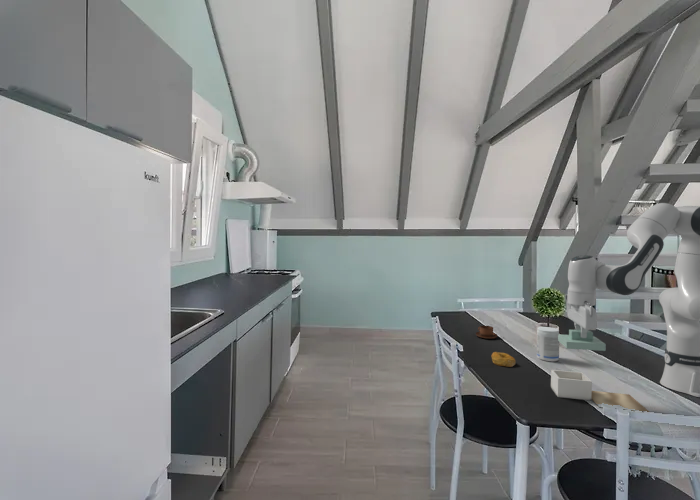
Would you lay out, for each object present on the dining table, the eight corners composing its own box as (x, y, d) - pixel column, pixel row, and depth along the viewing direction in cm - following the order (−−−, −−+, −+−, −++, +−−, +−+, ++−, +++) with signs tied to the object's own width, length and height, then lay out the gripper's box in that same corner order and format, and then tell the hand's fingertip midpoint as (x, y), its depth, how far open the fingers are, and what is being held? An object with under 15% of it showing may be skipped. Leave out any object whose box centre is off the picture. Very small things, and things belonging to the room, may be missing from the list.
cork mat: (629, 395, 136) (629, 394, 136) (649, 413, 122) (649, 411, 122) (584, 390, 140) (584, 389, 140) (599, 407, 126) (599, 406, 126)
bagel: (505, 369, 163) (505, 358, 163) (486, 361, 173) (486, 351, 173) (520, 366, 167) (521, 355, 167) (501, 358, 177) (501, 348, 177)
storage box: (582, 390, 140) (582, 372, 140) (591, 400, 132) (591, 381, 131) (550, 387, 143) (551, 369, 143) (557, 396, 134) (558, 378, 134)
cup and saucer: (472, 337, 213) (472, 327, 213) (480, 333, 222) (480, 323, 222) (492, 341, 205) (492, 330, 205) (500, 337, 214) (500, 327, 214)
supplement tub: (562, 359, 175) (563, 329, 174) (552, 363, 170) (553, 332, 169) (542, 354, 183) (543, 325, 183) (532, 357, 178) (533, 328, 177)
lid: (594, 342, 139) (594, 328, 139) (605, 350, 129) (605, 335, 129) (558, 340, 142) (558, 326, 142) (566, 348, 132) (566, 333, 132)
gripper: (602, 304, 124) (602, 344, 125) (581, 295, 144) (580, 329, 144) (581, 304, 126) (581, 343, 126) (563, 294, 145) (563, 328, 146)
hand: (581, 336), depth 135 cm, fingers closed on lid, 3 cm apart
